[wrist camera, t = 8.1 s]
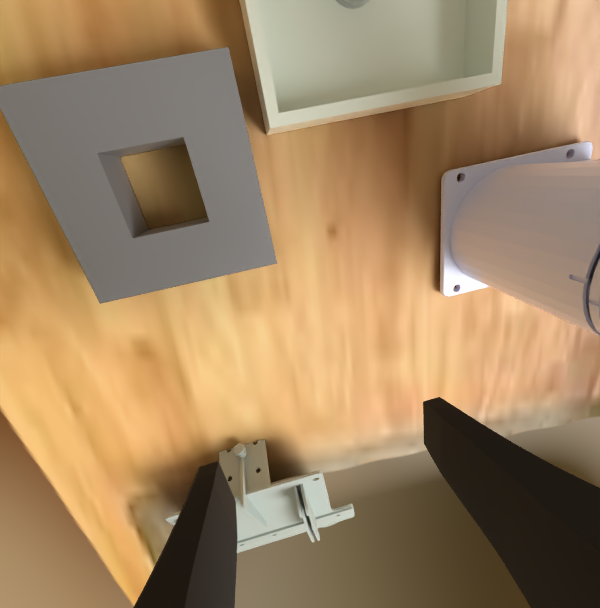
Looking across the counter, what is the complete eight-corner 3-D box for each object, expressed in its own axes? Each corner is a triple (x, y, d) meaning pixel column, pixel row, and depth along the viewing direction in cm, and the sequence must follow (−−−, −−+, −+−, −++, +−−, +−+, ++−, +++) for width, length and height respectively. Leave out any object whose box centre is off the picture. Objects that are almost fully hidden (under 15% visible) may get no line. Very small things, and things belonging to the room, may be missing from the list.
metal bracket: (120, 559, 18) (358, 487, 19) (139, 461, 22) (331, 407, 23) (204, 589, 27) (360, 540, 28) (205, 516, 32) (341, 475, 33)
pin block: (231, 67, 14) (228, 46, 12) (273, 252, 18) (277, 263, 16) (32, 102, 13) (-11, 87, 11) (119, 286, 17) (100, 303, 15)
